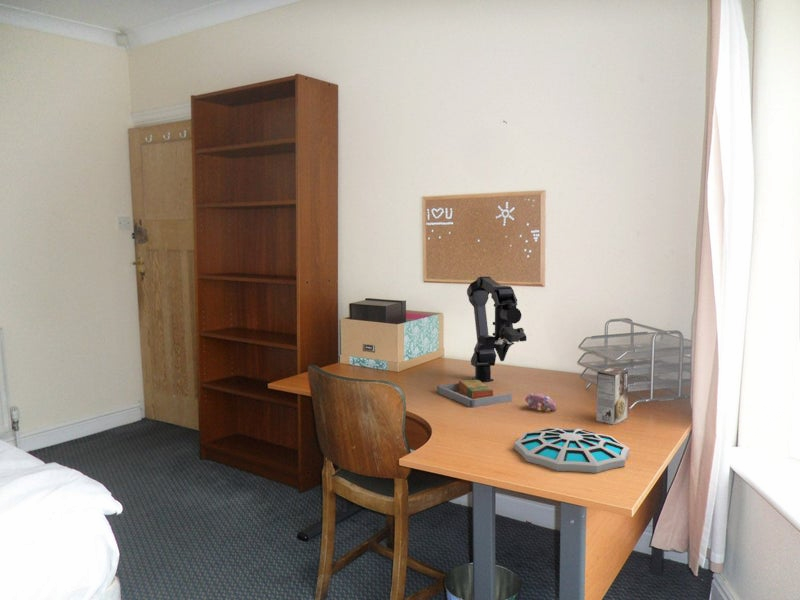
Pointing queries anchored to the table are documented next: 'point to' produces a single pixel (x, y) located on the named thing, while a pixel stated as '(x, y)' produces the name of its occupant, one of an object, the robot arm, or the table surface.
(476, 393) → the carton
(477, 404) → the display frame
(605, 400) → the coffee box
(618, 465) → the decorative platform
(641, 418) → the table surface
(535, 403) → the video game controller
